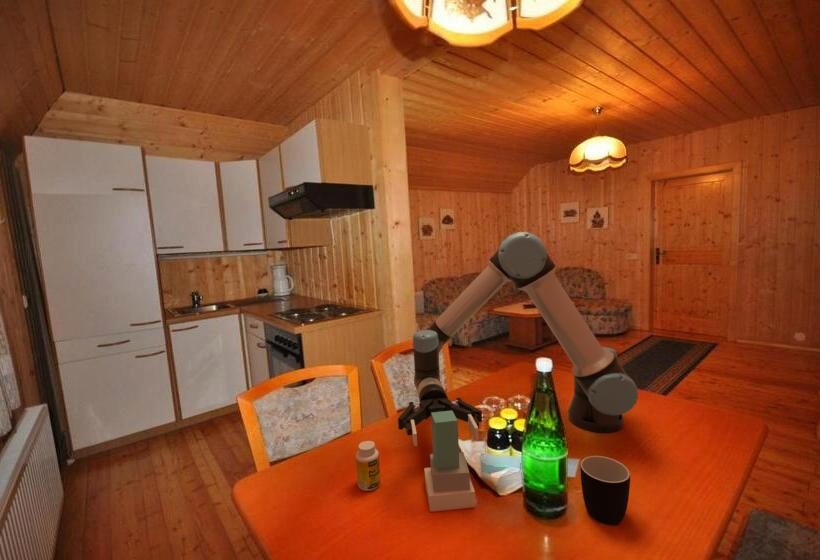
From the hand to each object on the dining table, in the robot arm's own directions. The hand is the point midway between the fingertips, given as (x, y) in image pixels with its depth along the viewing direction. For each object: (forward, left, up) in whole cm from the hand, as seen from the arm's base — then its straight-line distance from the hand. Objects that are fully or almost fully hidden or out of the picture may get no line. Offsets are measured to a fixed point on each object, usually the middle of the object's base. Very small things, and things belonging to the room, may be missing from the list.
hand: (446, 436), depth 81 cm
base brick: (0, -3, -16) cm, 16 cm away
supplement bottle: (+18, -9, -16) cm, 26 cm away
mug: (-31, +7, -16) cm, 35 cm away
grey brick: (-1, -3, -12) cm, 12 cm away
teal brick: (0, -3, -8) cm, 9 cm away
